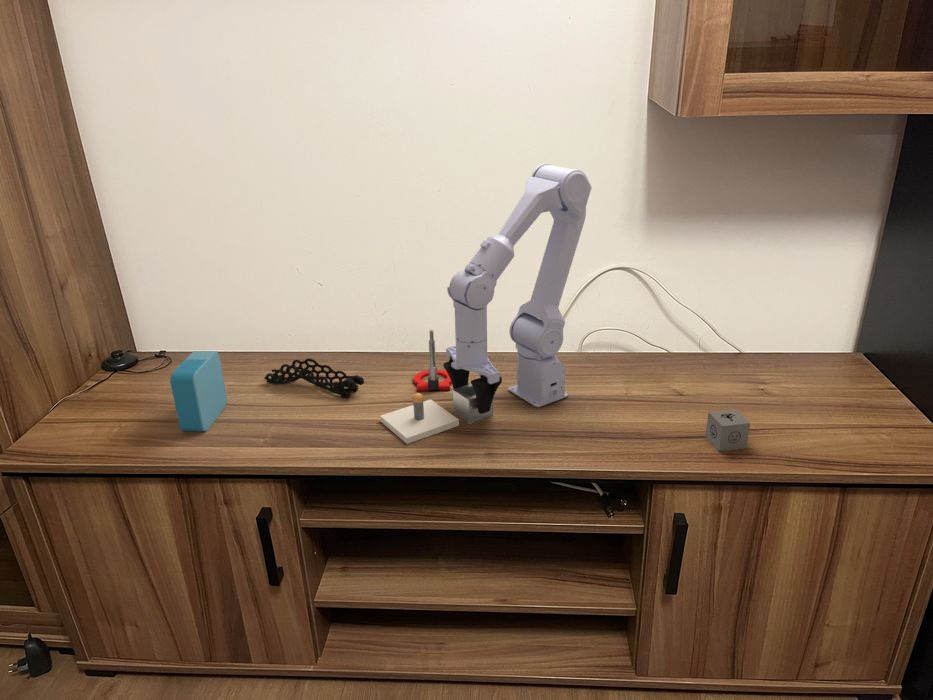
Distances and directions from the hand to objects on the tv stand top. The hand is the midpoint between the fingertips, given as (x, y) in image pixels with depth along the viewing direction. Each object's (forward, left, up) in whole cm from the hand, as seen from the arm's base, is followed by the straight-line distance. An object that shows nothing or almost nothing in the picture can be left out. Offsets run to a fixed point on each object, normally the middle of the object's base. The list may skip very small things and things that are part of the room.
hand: (472, 403), depth 135 cm
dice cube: (-34, -30, -3) cm, 45 cm away
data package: (+29, +42, -3) cm, 51 cm away
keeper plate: (+3, +10, -2) cm, 11 cm away
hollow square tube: (0, 0, -2) cm, 2 cm away
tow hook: (+16, -1, -3) cm, 17 cm away
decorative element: (+28, +20, -3) cm, 35 cm away
